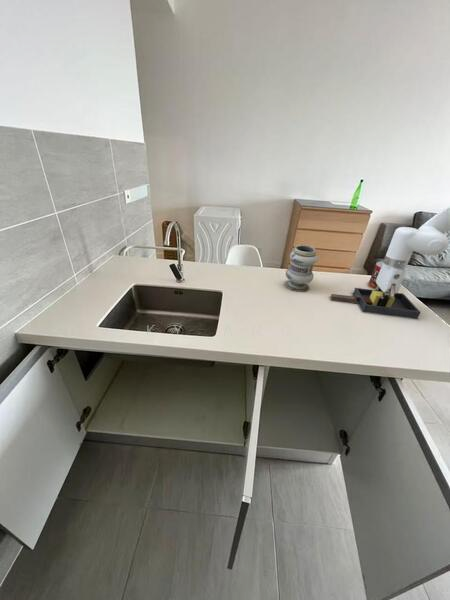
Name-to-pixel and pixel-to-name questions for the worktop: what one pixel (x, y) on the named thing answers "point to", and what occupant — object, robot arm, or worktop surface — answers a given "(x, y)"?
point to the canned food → (375, 275)
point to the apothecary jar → (301, 267)
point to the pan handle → (345, 298)
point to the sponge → (377, 294)
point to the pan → (398, 308)
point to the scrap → (368, 301)
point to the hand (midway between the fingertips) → (378, 303)
